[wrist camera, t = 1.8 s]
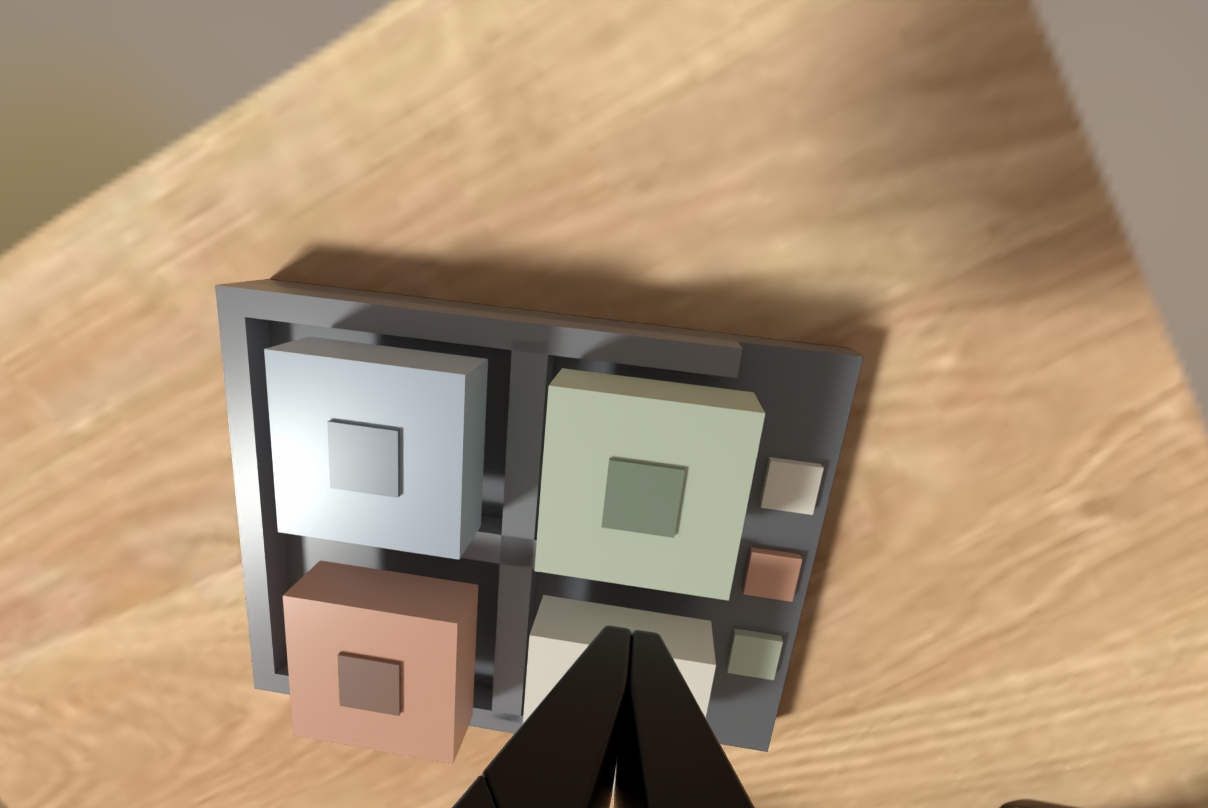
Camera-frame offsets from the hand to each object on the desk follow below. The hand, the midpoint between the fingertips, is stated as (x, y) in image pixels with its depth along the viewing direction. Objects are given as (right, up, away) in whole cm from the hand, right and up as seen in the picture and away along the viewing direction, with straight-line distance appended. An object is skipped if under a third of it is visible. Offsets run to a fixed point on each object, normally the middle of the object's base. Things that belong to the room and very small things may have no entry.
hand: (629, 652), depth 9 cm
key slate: (-6, +3, +7) cm, 10 cm away
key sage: (+1, +2, +7) cm, 7 cm away
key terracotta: (-7, -4, +9) cm, 12 cm away
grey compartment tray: (-3, 0, +11) cm, 11 cm away
